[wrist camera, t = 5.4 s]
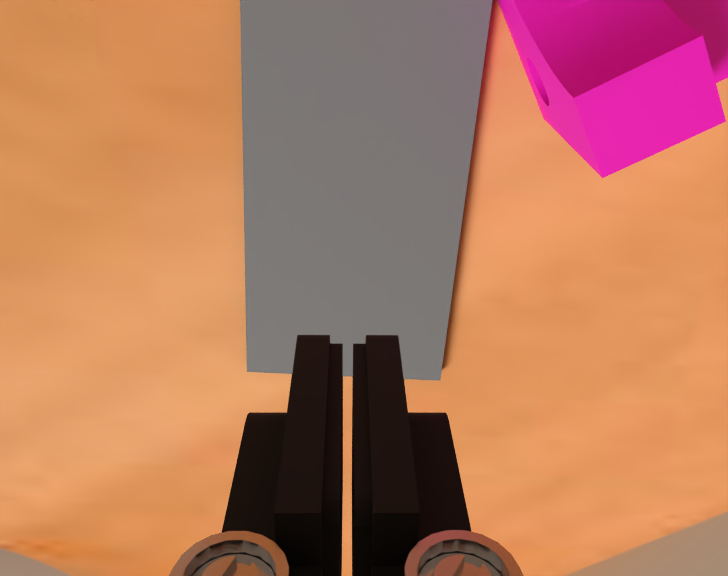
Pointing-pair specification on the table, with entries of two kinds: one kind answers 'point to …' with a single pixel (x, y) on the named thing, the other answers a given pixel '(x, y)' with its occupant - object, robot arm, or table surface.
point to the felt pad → (356, 171)
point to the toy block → (623, 71)
